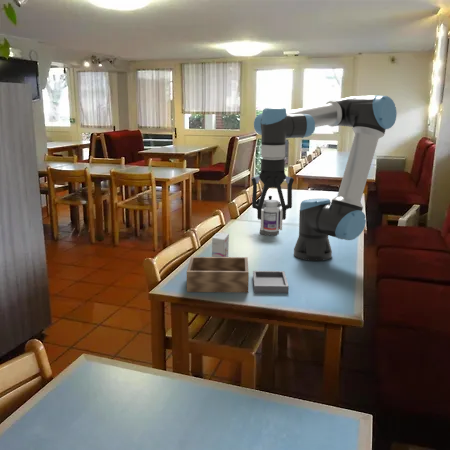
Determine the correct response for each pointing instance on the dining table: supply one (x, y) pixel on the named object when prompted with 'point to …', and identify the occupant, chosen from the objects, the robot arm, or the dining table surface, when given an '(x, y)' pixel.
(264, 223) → the pill bottle
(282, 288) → the tray
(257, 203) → the coffeepot
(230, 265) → the caddy
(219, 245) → the ink box
